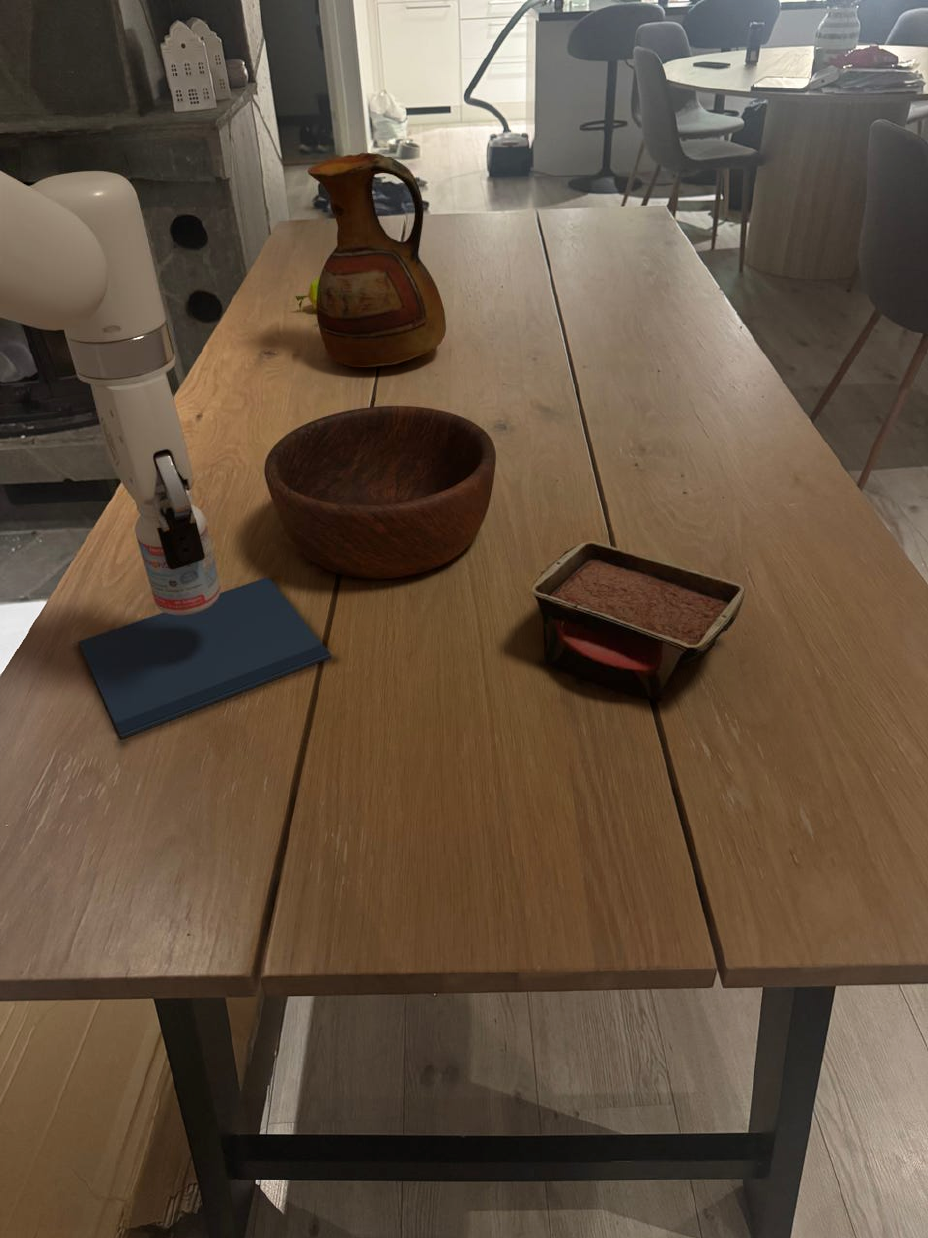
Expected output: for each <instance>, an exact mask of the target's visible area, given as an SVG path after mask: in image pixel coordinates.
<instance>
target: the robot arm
mask: <svg viewBox="0 0 928 1238" xmlns="http://www.w3.org/2000/svg"><path fill="white" fill-rule="evenodd" d="M143 217H144V216H143V213H142V209H141V205H140V200H139V197H138V193H137V191H136V189H135V188H134V186H133V184H132V183H131V182H130V181H129V179H127V178H126V177H124V176H122V175H121V174H119V173H115V172H111V171H106V170H105V171H104V170H103V171H102V170H89V171H86V170H85V171H76V172H67V173H61V174H57V175H52V176H48V177H45V178H42V179H41V180H39V181H37V182H35V183H33V184H31V185H27V184H24V183H23V182H21V181H19V180H18V179H16V178H14V177H13V176H11V175H10V174H7V173H6V172H3V171H2V170H0V319H4V320H8V321H12V322H15V323H18V324H21V325H25V326H27V327H31V328H35V329H39V330H46V331H62V330H63V332H64V336H65V339H66V342H67V345H68V349H69V353H70V356H71V359H72V362H73V365H74V369H75V372H76V376H77V379H78V380H80V381H81V382H83V383H86V384H88V385H90V389H91V394H92V398H93V401H94V405H95V409H96V413H97V417H98V421H99V425H100V429H101V434H102V437H103V441H104V445H105V449H106V453H107V457H108V460H109V463H110V465H111V468H112V469H113V471H114V473H115V474H116V476H117V478H118V479H119V481H120V482H121V484H122V485H123V487H124V488H125V490H126V491H127V493H128V494H129V495H130V497H131V499H133V501H134V502H135V501H136V502H138V503H140V504H145V503H146V501H150V500H152V503H153V506H154V509H155V512H156V515H157V518H158V521H159V524H160V527H159V528H157V530H158V534H159V538H160V541H161V545H162V548H163V552H164V556H165V559H166V563H167V565H168V567H169V568H170V569H172V570H173V569H177V568H180V567H183V566H186V565H189V564H192V563H195V562H198V561H201V560H203V559H204V558H205V554H204V550H203V546H202V542H201V538H200V534H199V530H198V526H197V522H196V519H195V516H194V513H193V510H192V507H191V504H190V501H189V498H188V495H187V492H186V490H187V491H189V490H190V491H191V490H192V488H193V487H194V484H195V483H194V475H193V469H192V466H191V461H190V458H189V457H190V456H189V451H188V448H187V444H186V439H185V436H184V432H183V428H182V424H181V421H180V417H179V413H178V410H177V406H176V403H175V397H174V396H173V393H172V388H171V385H170V382H169V379H168V375H167V373H168V372H169V371H170V370H171V369H173V368H174V367H175V365H176V363H177V358H176V353H175V350H174V347H173V346H174V345H173V342H172V338H171V333H170V330H169V325H168V320H167V317H166V313H165V309H164V304H163V300H162V296H161V290H160V287H159V282H158V278H157V274H156V269H155V265H154V260H153V257H152V251H151V248H150V243H149V239H148V235H147V234H148V233H147V230H146V226H145V222H144V221H145V220H144V218H143ZM159 485H163V487H164V489H165V491H162V492H159V493H156V492H155V489H156V486H159ZM165 499H169V506H170V508H167V509H166V513H165V512H164V509H163V506H162V504H161V501H162V500H165ZM136 502H135V503H136Z"/></svg>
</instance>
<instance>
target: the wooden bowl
mask: <svg viewBox="0 0 928 1238" xmlns="http://www.w3.org/2000/svg"><path fill="white" fill-rule="evenodd" d="M496 462H497V451H496V448H495V444H494V442H493V440H492V438H491V436H490V435H489V434H488V432H486V430H485V429H483V428H482V427H481V426H479V425H478V424H476V423H475V422H473V421H471V420H469V419H468V418H465V417H463V416H460V415H458V414H456V413H452V412H449V411H445V410H440V409H437V408H431V407H425V406H413V405H412V406H411V405H382V406H379V405H378V406H372V407H371V406H370V407H368V406H367V407H361V408H355V409H350V410H345V411H344V410H343V411H340V412H336V413H332V414H328V415H326V416H323V417H320V418H316V419H314V420H311V421H309V422H307V423H304V424H303V425H300V426H298V427H297V428H295V429H293V430H292V431H290V432H288V433H287V434H285V435H284V436H283V437H282V438H281V439H280V440H278V441H277V442H276V443H275V444H274V446H273V447H271V449H270V450H269V452H268V454H267V455H266V459H265V462H264V469H263V471H264V478H265V482H266V485H267V489H268V492H269V495H270V498H271V501H272V503H273V506H274V509H275V512H276V514H277V517H278V519H279V521H280V523H281V525H282V527H283V529H284V531H285V533H286V534H287V536H288V538H289V539H290V541H292V543H293V544H294V545H295V546H296V548H297V549H298V550H299V551H300V552H301V553H302V554H303V555H304V556H305V557H306V558H307V559H308V560H309V561H311V562H312V563H314V564H315V565H317V566H318V567H320V568H323V569H325V570H327V571H329V572H332V573H335V574H337V575H341V576H344V577H349V578H355V579H364V580H391V579H399V578H405V577H411V576H415V575H419V574H423V573H426V572H429V571H432V570H434V569H437V568H439V567H441V566H443V565H446V563H448V562H450V561H452V560H453V559H455V558H456V557H457V556H459V555H460V554H462V552H464V551H465V550H466V549H467V548H468V547H469V546H470V545H471V543H472V542H473V540H474V539H475V538H476V536H477V535H478V533H479V531H480V529H481V527H482V526H483V524H484V521H485V519H486V516H487V513H488V510H489V507H490V503H491V498H492V494H493V493H492V492H493V487H494V481H495V472H496V464H497V463H496Z"/></svg>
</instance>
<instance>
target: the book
mask: <svg viewBox="0 0 928 1238" xmlns="http://www.w3.org/2000/svg"><path fill="white" fill-rule="evenodd" d="M78 645H79V647H80V650H81V652H82V654H83V657H84V658H85V661H86V663H87V665H88V667H89V670H90V672H91V674H92V676H93V679H94V680H95V683H96V685H97V688H98V691H99V692H100V694H101V697H102V699H103V701H104V703H105V705H106V708H107V710H108V712H109V714H110V717H111V719H112V721H113V724H114V726H115V727H116V728H115V729H116V730H117V733H118V734H119V737H120V739H121V740H124V739H126V738H129V737H131V736H134V735H137V734H140V733H142V732H144V731H146V730H149V729H152V728H155V727H157V726H160V725H162V724H164V723H167V722H170V721H172V720H175V719H179V718H180V717H183V716H186V715H188V714H190V713H193V712H196V711H198V710H201V709H203V708H206V707H209V706H211V705H213V704H217V703H219V702H222V701H224V700H226V699H229V698H232V697H234V696H237V695H239V694H242V693H244V692H247V691H250V690H253V689H254V688H257V687H260V686H263V685H265V684H267V683H268V684H269V683H270V682H272V681H274V680H277V679H280V678H282V677H286V676H288V675H290V674H293V673H295V672H299V671H301V670H303V669H306V668H309V667H311V666H315V665H316V664H318V663H322V662H324V661H327V660H329V659H332V654H331V652H330V651H329V650H328V649H327V647H326V646H325V645H324V644H323V643H322V642H321V640H319V638H318V637H317V635H316V634H315V633H314V632H313V630H312V629H311V628H310V627H309V626H308V624H307V623H306V622H305V620H303V618H302V617H301V615H299V613H298V612H297V610H295V608H294V606H292V604H291V603H290V602H289V601H288V600H287V598H286V597H285V596H284V595H283V593H282V592H281V590H280V589H279V588H278V587H277V585H275V583H274V581H272V579H271V578H270V577H269V576H266V577H263V578H260V579H258V580H255V581H252V582H249V583H246V584H243V585H240V586H237V587H234V588H232V589H228V590H225V591H222V592H220V595H219V597H218V599H217V600H216V602H215V603H214V604H213V605H212V606H210V607H209V608H207V609H205V610H203V611H201V612H198V613H194V614H189V615H172V614H168V613H165V612H161V613H158V614H155V615H152V616H149V617H146V618H143V619H140V620H138V621H133V622H132V623H129V624H126V625H123V626H119V627H117V628H115V629H114V628H113V629H111V630H108V631H105V632H102V633H99V634H96V635H93V636H91V637H87V638H84V639H82V640H79V641H78Z"/></svg>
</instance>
